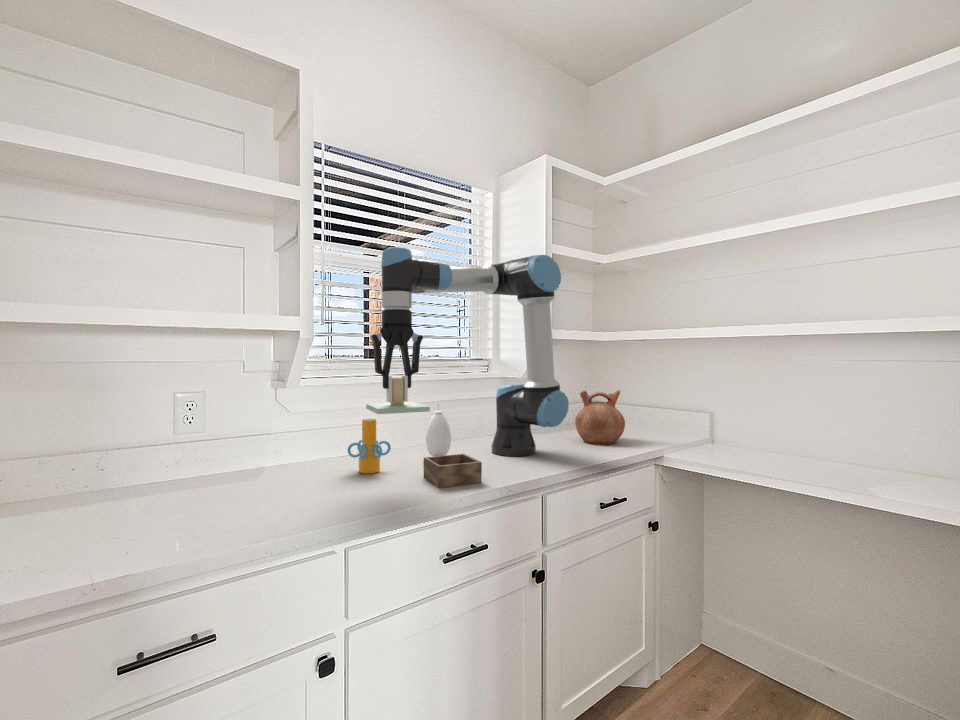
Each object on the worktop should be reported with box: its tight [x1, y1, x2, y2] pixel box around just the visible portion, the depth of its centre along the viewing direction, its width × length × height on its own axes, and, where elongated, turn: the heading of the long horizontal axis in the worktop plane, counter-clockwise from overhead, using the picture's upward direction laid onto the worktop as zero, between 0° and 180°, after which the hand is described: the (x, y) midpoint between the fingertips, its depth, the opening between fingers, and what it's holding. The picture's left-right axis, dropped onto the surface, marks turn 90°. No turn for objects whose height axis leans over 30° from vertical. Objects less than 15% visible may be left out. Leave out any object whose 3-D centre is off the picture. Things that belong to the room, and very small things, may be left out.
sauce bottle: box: [425, 402, 452, 457], centre depth 162 cm, size 8×8×18 cm
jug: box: [574, 389, 626, 446], centre depth 192 cm, size 18×18×20 cm
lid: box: [365, 377, 431, 415], centre depth 129 cm, size 13×13×8 cm
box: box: [423, 453, 483, 489], centre depth 135 cm, size 12×12×6 cm
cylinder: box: [347, 418, 392, 475], centre depth 145 cm, size 12×10×15 cm
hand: (397, 401), depth 129 cm, fingers closed on lid, 3 cm apart
